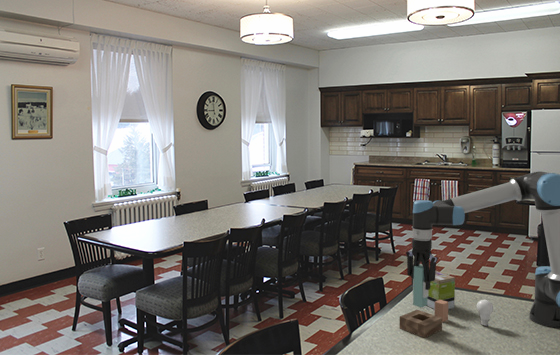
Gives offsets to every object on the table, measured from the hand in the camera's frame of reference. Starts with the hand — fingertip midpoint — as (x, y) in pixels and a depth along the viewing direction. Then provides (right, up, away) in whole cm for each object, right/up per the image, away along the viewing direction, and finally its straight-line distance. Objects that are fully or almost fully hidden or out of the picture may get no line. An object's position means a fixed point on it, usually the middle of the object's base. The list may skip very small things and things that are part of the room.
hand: (420, 295), depth 187 cm
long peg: (0, -4, 0) cm, 4 cm away
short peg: (+12, -13, +11) cm, 21 cm away
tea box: (+15, -12, +29) cm, 35 cm away
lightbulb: (+28, -14, +4) cm, 31 cm away
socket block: (0, -14, +1) cm, 14 cm away
